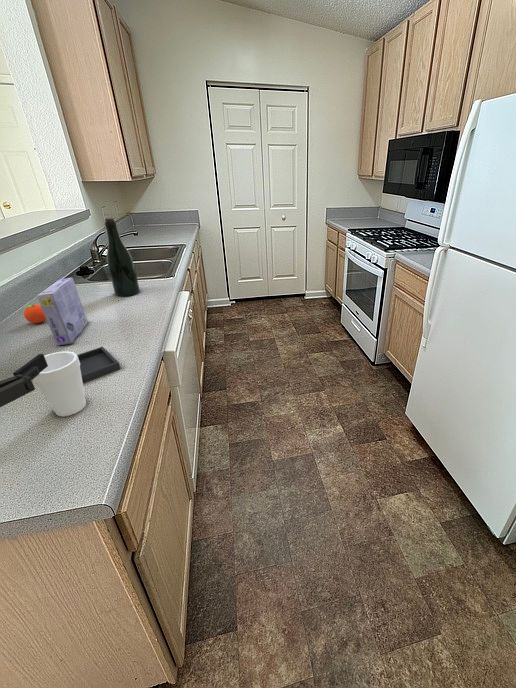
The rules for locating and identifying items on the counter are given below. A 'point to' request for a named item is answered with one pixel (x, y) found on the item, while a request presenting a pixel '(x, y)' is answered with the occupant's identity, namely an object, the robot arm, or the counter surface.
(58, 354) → the foam cup
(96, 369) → the shallow black tray
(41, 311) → the red tomato
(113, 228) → the beer bottle
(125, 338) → the counter surface
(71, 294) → the cake pan box
